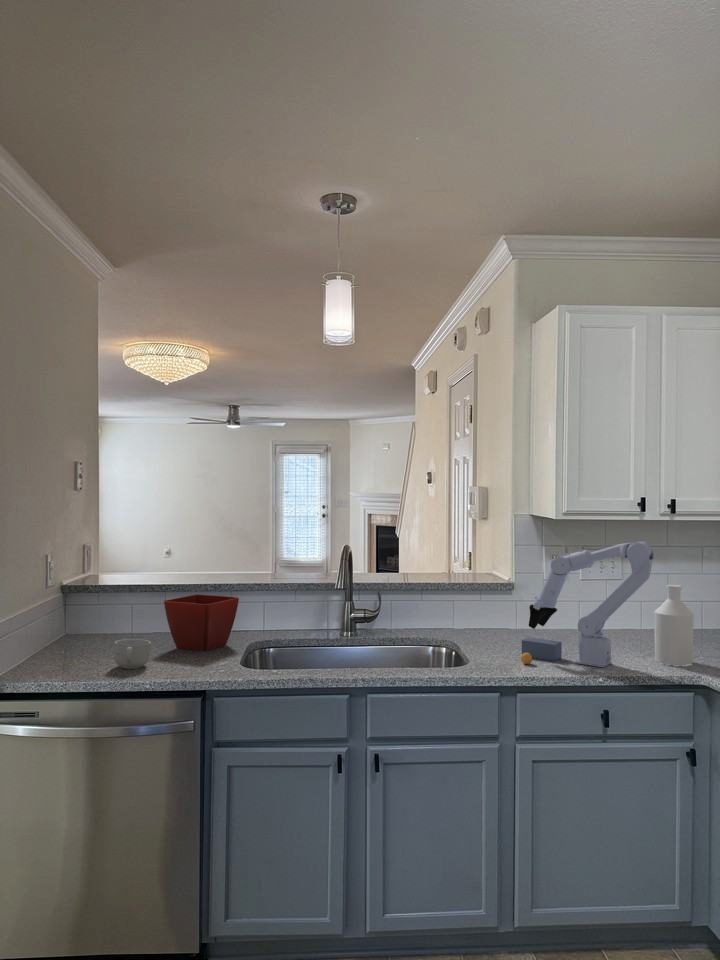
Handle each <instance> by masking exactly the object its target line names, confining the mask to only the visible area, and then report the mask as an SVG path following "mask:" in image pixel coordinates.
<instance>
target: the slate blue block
mask: <svg viewBox="0 0 720 960" xmlns="http://www.w3.org/2000/svg"><path fill="white" fill-rule="evenodd" d="M562 647H563V646H562V641H557V640H552V639H551V640H550V639H543V638H538V637H537V638H535V637H526V638H524V639H522V640H521V655H522V654H523V653H529V654H531V656H532V657H533V658H532V659H536V658H539V659H538V660H543V659H544V661H549V660H552V661H551V662H556V661H555V660H557V661H558V659H559V660H561V659H562V655H563V654H562ZM560 658H561V659H560Z"/></svg>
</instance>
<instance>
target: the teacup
mask: <svg viewBox="0 0 720 960" xmlns="http://www.w3.org/2000/svg"><path fill="white" fill-rule="evenodd" d="M151 644H152V643H151V641H150V640H148V639H141V638H124V639H123V638H122V639H118V640H116V641H114V653H113V654H114V657H113V659H114V661H115V663H116V664H117V665H118V666H119V668H122V669H125V670H126V669H127V670H128V669H129V670H130V669H131V670H132V669H133V670H134V669H140V667H141V668H142V667H144V665H146V664H147V663H148V662H149V659H150V652H151Z"/></svg>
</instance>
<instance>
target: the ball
mask: <svg viewBox="0 0 720 960" xmlns="http://www.w3.org/2000/svg"><path fill="white" fill-rule="evenodd" d="M520 660H521V662H522V663H523V664H524V665H529V664H531V663H532V662H533V658H532V656H531V654H529V653H523V654H522V653H521V655H520Z"/></svg>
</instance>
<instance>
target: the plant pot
mask: <svg viewBox="0 0 720 960" xmlns="http://www.w3.org/2000/svg"><path fill="white" fill-rule="evenodd" d="M239 599H240V598H239V597H238V596H237V597H236V596H226V595H225V596H224V595H212V594H191V595H187V596H180V597H176V598H170V599H166V600H163V603H164V609H165V611H164V612H165V616H166V619H167V623H168V628H169V631H170V634H171V637H172V640H173V642H174V645H175V647H176V648H177V649H184V650H192V651H193V650H194V651H199V652H206V651H207V652H208V651H211V650H213V649H217V647H218V648H220V647H224V646H226V645H227V643H228V640H229V638H230V635H231V632H232V629H233V627H234V622H235V620H236V617H237V616H236V615H237V611H238V606H239Z"/></svg>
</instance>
